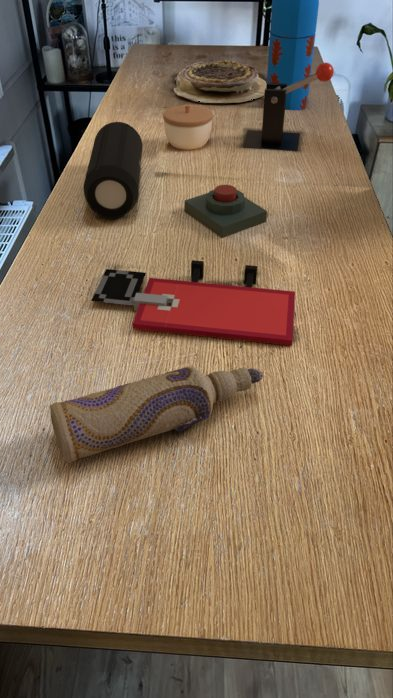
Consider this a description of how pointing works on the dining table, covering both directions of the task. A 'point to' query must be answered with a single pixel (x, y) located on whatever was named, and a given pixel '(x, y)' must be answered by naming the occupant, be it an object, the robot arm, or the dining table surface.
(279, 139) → the bracket
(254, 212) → the button box
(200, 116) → the trinket box
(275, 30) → the thermos
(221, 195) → the button
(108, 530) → the dining table surface
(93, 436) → the decorative bottle
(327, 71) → the lever
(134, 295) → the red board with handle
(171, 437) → the dining table surface
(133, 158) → the portable speaker
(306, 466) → the dining table surface
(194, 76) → the pie
